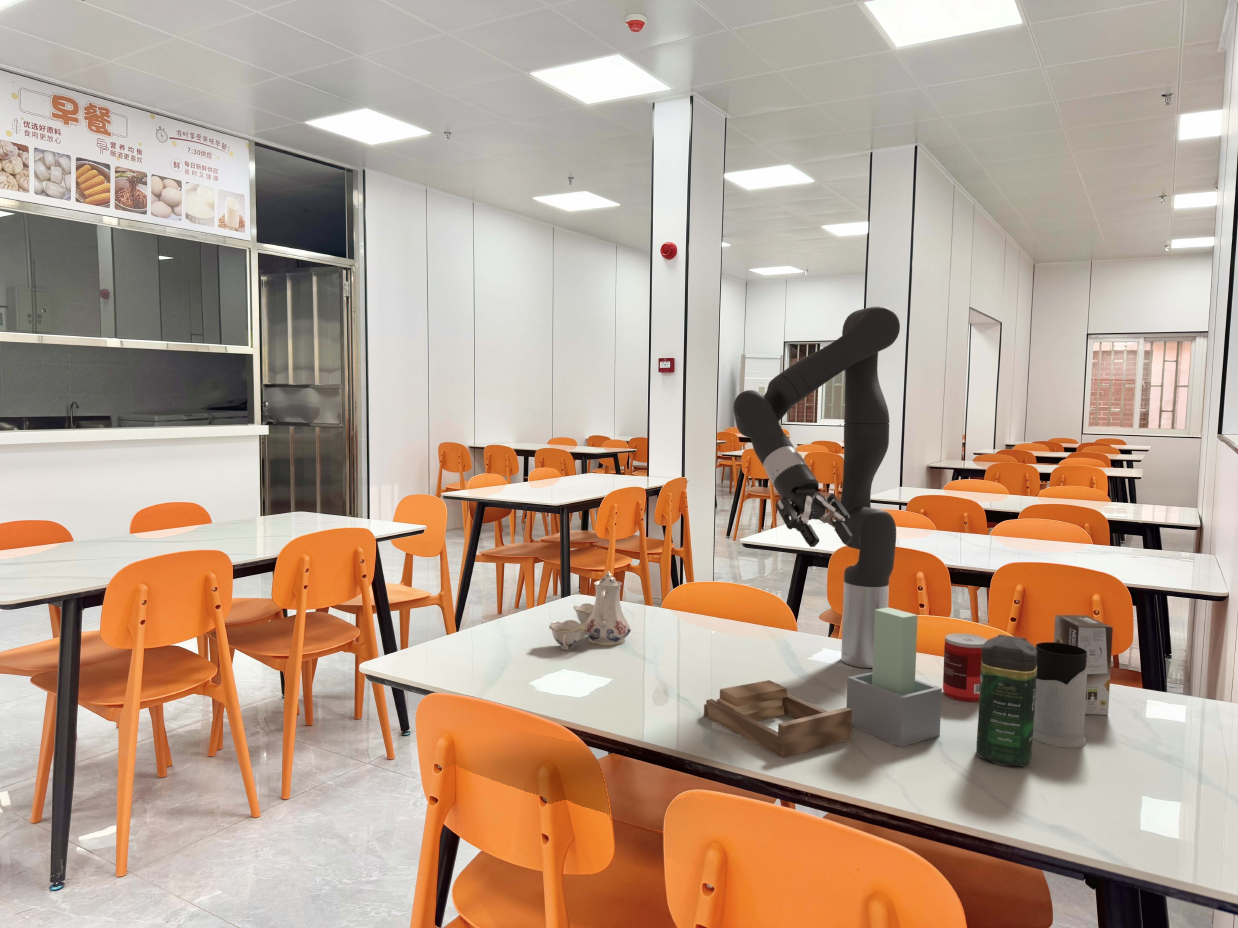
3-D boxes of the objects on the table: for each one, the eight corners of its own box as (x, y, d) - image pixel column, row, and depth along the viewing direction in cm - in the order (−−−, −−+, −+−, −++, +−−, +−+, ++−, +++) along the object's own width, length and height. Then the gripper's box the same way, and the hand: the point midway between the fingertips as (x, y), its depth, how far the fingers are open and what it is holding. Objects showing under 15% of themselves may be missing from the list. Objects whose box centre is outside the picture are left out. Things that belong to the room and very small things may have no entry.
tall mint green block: (884, 721, 143) (889, 607, 141) (912, 733, 137) (917, 615, 136) (870, 724, 141) (874, 609, 139) (898, 736, 136) (903, 617, 134)
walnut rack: (768, 701, 151) (769, 674, 151) (850, 739, 134) (851, 709, 134) (703, 715, 144) (704, 687, 143) (782, 757, 126) (783, 726, 126)
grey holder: (884, 713, 146) (886, 668, 146) (939, 735, 136) (941, 688, 136) (845, 722, 141) (847, 677, 141) (900, 746, 131) (902, 697, 131)
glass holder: (1078, 752, 131) (1083, 659, 130) (986, 727, 140) (990, 641, 139) (1092, 736, 137) (1097, 648, 136) (1003, 714, 147) (1007, 631, 146)
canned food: (986, 692, 159) (989, 635, 158) (985, 705, 151) (988, 646, 151) (943, 685, 162) (946, 630, 161) (941, 698, 155) (943, 640, 154)
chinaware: (575, 628, 206) (569, 563, 205) (640, 626, 203) (635, 559, 202) (546, 661, 178) (539, 585, 178) (621, 659, 175) (615, 582, 175)
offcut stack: (766, 704, 149) (767, 678, 149) (786, 714, 145) (787, 687, 144) (715, 716, 143) (715, 689, 143) (734, 726, 139) (735, 698, 138)
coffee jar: (1030, 772, 123) (1036, 650, 122) (973, 760, 127) (978, 642, 125) (1034, 750, 131) (1040, 635, 130) (980, 739, 135) (985, 628, 134)
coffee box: (1110, 715, 147) (1115, 627, 146) (1074, 714, 147) (1078, 626, 146) (1083, 697, 156) (1087, 614, 155) (1049, 696, 157) (1053, 613, 156)
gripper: (772, 463, 152) (815, 532, 143) (827, 461, 160) (871, 528, 151) (752, 489, 157) (792, 558, 148) (806, 486, 165) (848, 552, 156)
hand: (832, 542), depth 149 cm, fingers open, 8 cm apart
